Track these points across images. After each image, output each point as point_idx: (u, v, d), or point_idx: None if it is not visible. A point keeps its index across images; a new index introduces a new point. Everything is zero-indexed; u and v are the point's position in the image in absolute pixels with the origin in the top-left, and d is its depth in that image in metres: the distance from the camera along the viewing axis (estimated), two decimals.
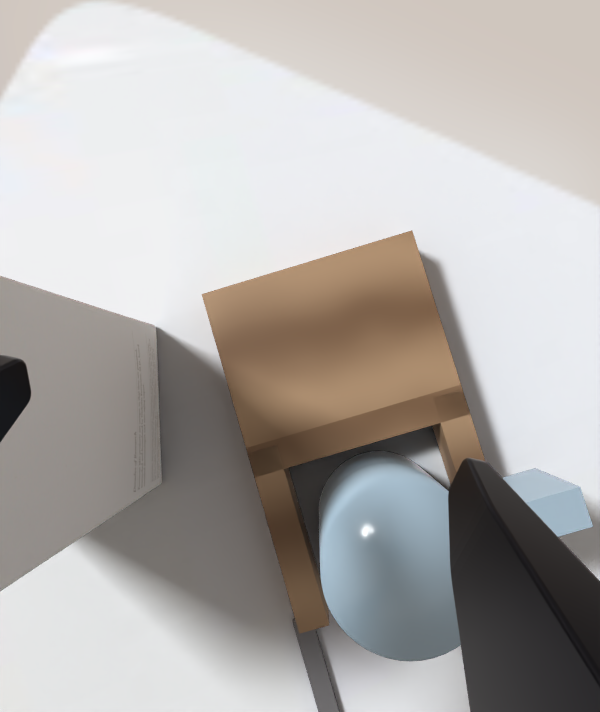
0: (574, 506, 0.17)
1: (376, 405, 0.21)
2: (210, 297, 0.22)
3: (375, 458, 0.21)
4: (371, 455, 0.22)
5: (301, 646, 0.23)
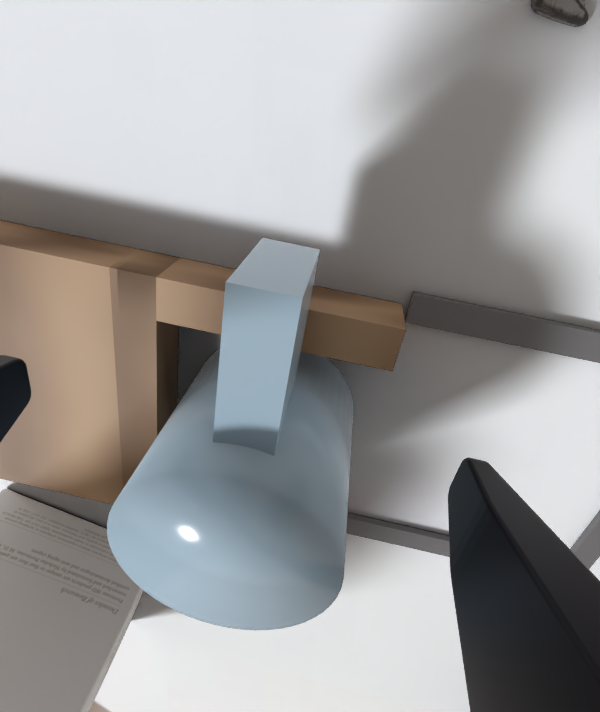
0: (254, 309, 0.09)
1: (110, 379, 0.16)
2: None
3: None
4: None
5: (367, 535, 0.20)
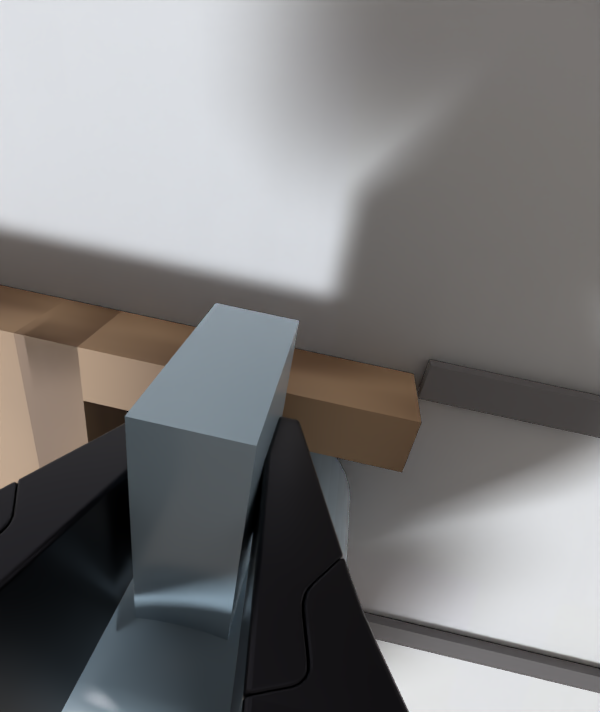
0: (177, 456, 0.05)
1: (32, 467, 0.12)
2: None
3: None
4: None
5: None
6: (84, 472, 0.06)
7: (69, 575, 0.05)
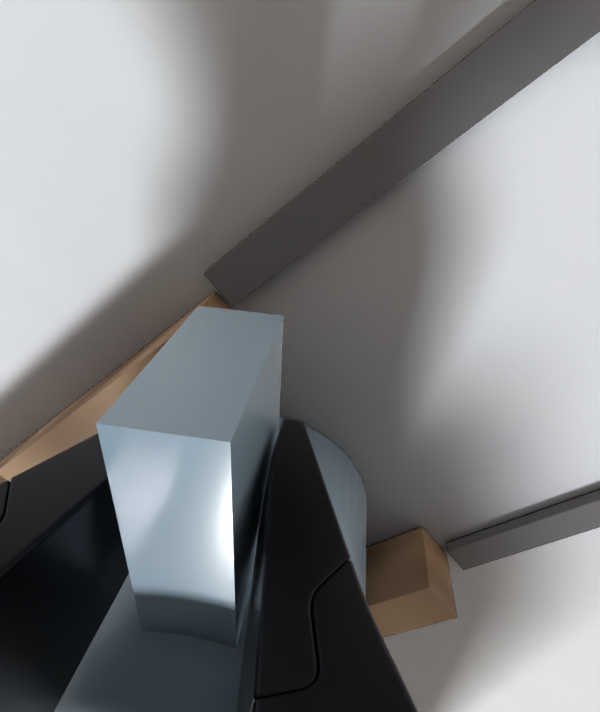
0: (153, 461, 0.05)
1: None
2: None
3: None
4: None
5: (502, 554, 0.13)
6: (77, 470, 0.06)
7: (61, 573, 0.05)
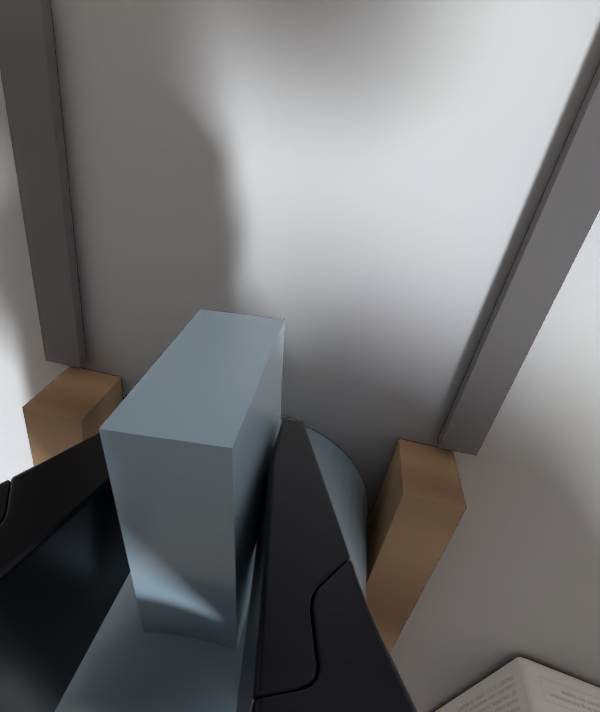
0: (155, 466, 0.05)
1: None
2: None
3: None
4: None
5: (492, 414, 0.11)
6: (77, 471, 0.06)
7: (62, 573, 0.05)
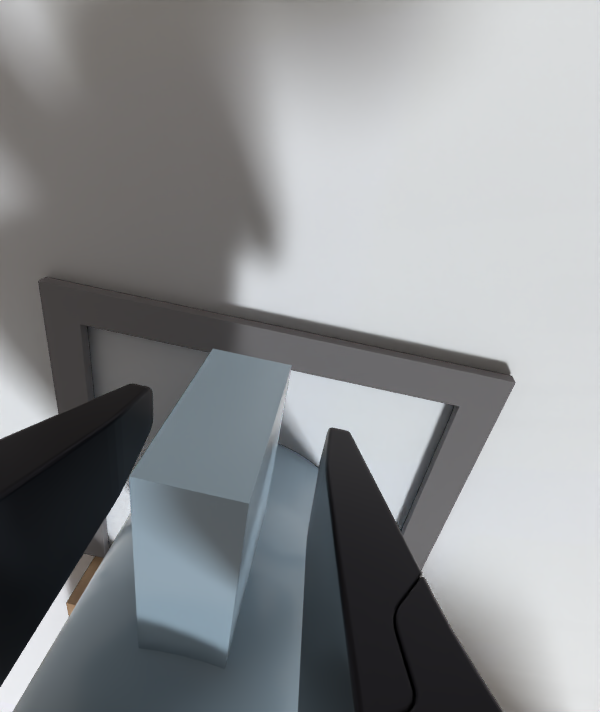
0: (177, 510, 0.06)
1: None
2: None
3: None
4: None
5: None
6: (14, 456, 0.06)
7: None
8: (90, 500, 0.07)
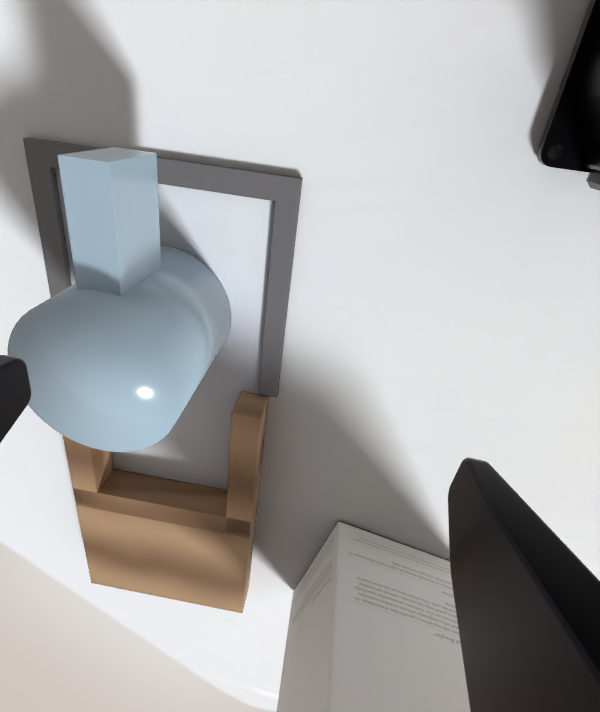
0: (80, 174, 0.13)
1: (142, 520, 0.27)
2: (236, 610, 0.31)
3: None
4: None
5: (277, 375, 0.23)
6: None
7: None
8: None
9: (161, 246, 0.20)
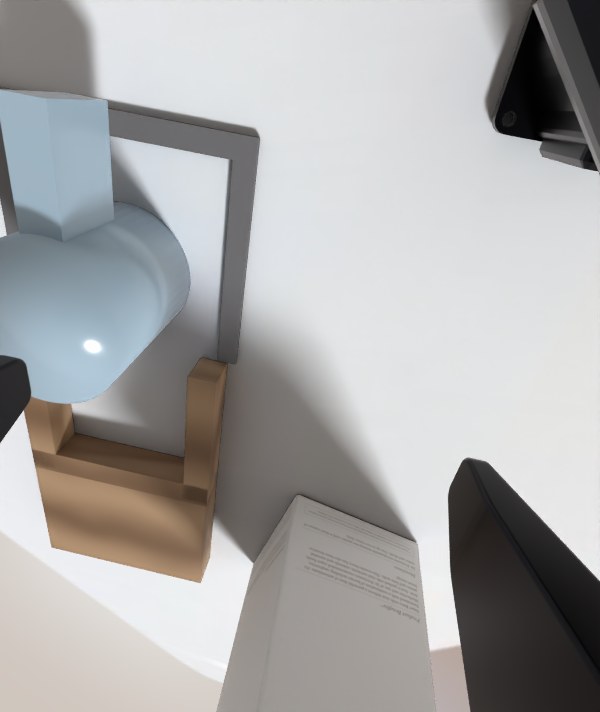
0: (18, 110, 0.13)
1: (100, 484, 0.27)
2: (195, 579, 0.31)
3: None
4: None
5: (236, 342, 0.23)
6: None
7: None
8: None
9: (120, 203, 0.20)
